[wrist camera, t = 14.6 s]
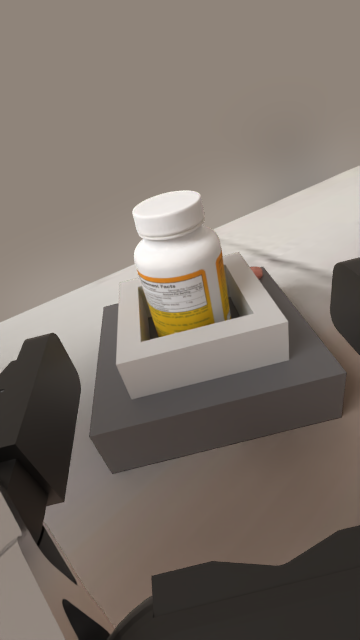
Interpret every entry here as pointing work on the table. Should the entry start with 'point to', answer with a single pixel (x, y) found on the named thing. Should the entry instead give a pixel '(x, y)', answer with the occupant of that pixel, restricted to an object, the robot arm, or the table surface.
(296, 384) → the square bottle holder
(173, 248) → the supplement bottle
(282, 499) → the table surface
